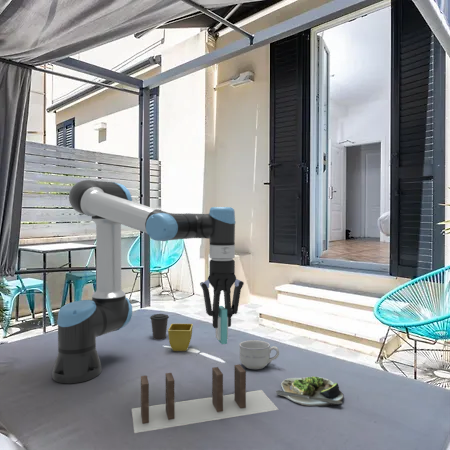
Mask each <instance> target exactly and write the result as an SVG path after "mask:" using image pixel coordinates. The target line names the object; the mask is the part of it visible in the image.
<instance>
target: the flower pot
mask: <svg viewBox="0 0 450 450" xmlns="http://www.w3.org/2000/svg"><path fill="white" fill-rule="evenodd" d="M193 325H194V324H193V323H171V324H170V326H169V328H168V329H167V332H168V333H167V334H168V341H169V342H168V343H169V346H170V348H171V350H172V351H173V352H186V351H187V350H188V349H189V346H190V343H191V340H192V335H193V328H194V326H193Z"/></svg>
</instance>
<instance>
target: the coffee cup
mask: <svg viewBox="0 0 450 450" xmlns="http://www.w3.org/2000/svg"><path fill="white" fill-rule="evenodd" d="M169 318H170V316H169V315H168V314H164V313H154V314H152V315H150V317H149V319H150V323H151V329H152V331H151V332H152V338H153V340H156V341H160V340H165V339H166V337H167V332H168V329H167V328H168V319H169Z"/></svg>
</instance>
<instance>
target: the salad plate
mask: <svg viewBox="0 0 450 450" xmlns="http://www.w3.org/2000/svg"><path fill="white" fill-rule="evenodd" d="M280 386H281V390H280V389H279V390H275V394H276V395H279V396H281V397H285V398H286V399H288V400H290V401H292V402H294V403H296V404H298V405H301V406H309V407H312V406H313V407H314V406H317V407H321V406H324V407H327V406H328V407H329V406H337V405H341V404H343V399H344V394H343V392H342V391H341V389H340V386H339V384H338V382H333V381H332V380H330V379H329V378H325V377H321V376H312V375H311V376H306V377H288V378H286V379H284V380H283V381H281V383H280Z"/></svg>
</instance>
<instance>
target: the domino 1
mask: <svg viewBox="0 0 450 450" xmlns="http://www.w3.org/2000/svg"><path fill="white" fill-rule="evenodd" d="M149 406H150V383H149V379H148V375H141V376H140V407H141V418H142V424H145V423H149Z"/></svg>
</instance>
